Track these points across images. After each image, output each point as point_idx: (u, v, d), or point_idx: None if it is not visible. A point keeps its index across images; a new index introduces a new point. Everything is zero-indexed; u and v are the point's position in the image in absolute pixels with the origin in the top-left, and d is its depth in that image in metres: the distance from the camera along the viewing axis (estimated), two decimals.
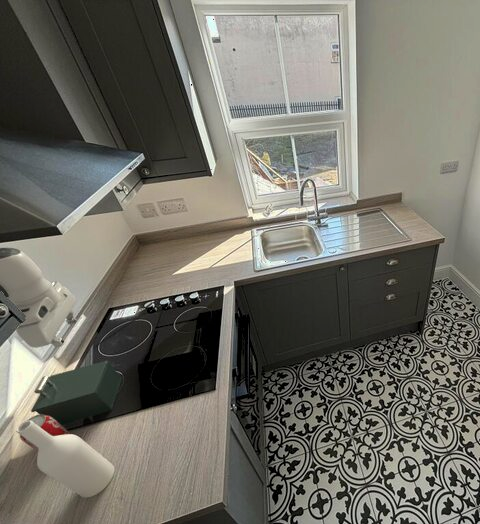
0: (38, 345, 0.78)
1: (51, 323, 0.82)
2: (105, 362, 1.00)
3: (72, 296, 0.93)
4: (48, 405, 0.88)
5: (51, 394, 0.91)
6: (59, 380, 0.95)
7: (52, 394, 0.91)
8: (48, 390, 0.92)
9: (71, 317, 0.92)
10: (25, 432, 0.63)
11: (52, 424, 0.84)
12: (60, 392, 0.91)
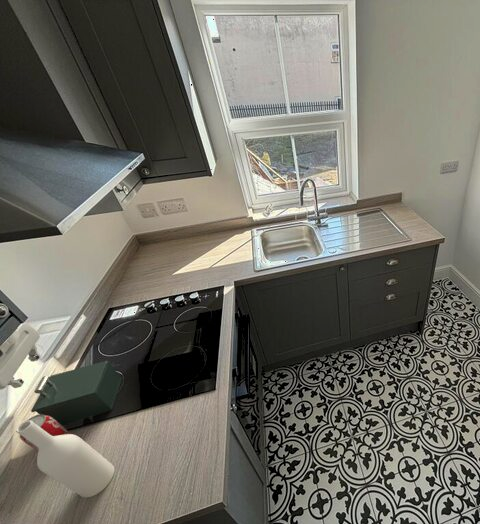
0: None
1: (8, 364, 0.79)
2: (105, 362, 1.00)
3: (35, 332, 0.90)
4: (48, 405, 0.88)
5: (51, 394, 0.91)
6: (59, 380, 0.95)
7: (52, 394, 0.91)
8: (48, 390, 0.92)
9: (34, 354, 0.89)
10: (25, 432, 0.63)
11: (52, 424, 0.84)
12: (60, 392, 0.91)
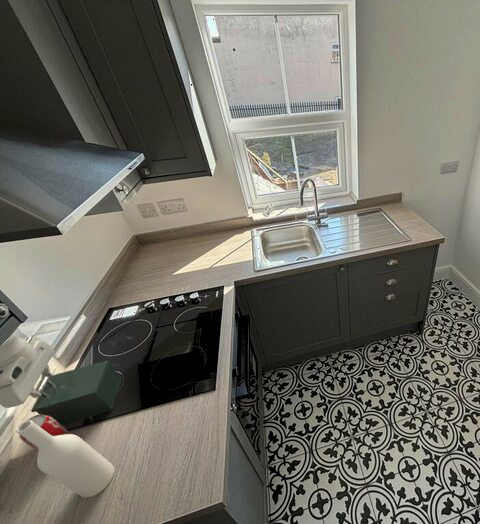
0: (12, 405, 0.80)
1: (26, 381, 0.83)
2: (105, 362, 1.00)
3: (49, 348, 0.94)
4: (48, 405, 0.88)
5: (51, 394, 0.91)
6: (59, 380, 0.95)
7: (52, 394, 0.91)
8: (48, 390, 0.92)
9: (46, 372, 0.92)
10: (25, 432, 0.63)
11: (52, 424, 0.84)
12: (60, 392, 0.91)
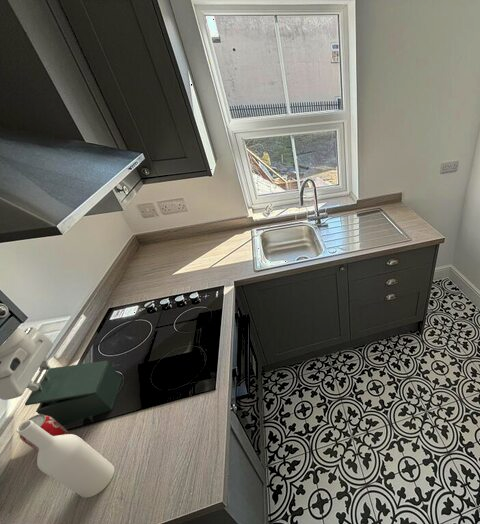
0: (9, 397, 0.78)
1: (24, 373, 0.82)
2: (105, 362, 1.00)
3: (48, 341, 0.93)
4: (44, 400, 0.86)
5: (47, 389, 0.89)
6: (55, 375, 0.93)
7: (48, 388, 0.89)
8: (43, 384, 0.90)
9: (44, 365, 0.91)
10: (25, 432, 0.63)
11: (52, 424, 0.84)
12: (57, 388, 0.90)
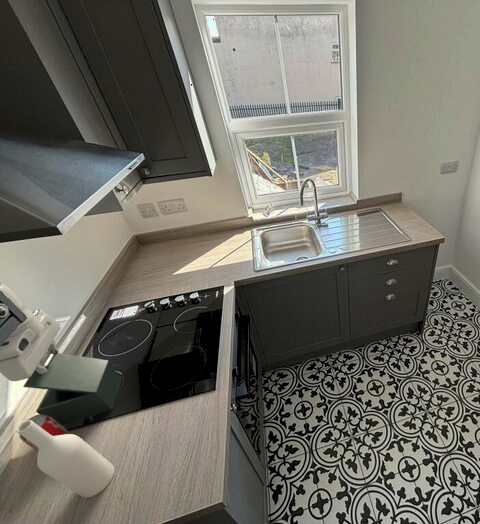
0: (18, 379, 0.76)
1: (33, 354, 0.80)
2: (106, 361, 1.00)
3: (56, 324, 0.91)
4: (44, 386, 0.84)
5: (47, 374, 0.87)
6: (56, 361, 0.91)
7: (48, 374, 0.87)
8: None
9: (52, 349, 0.89)
10: (25, 432, 0.63)
11: (52, 425, 0.84)
12: (58, 377, 0.88)
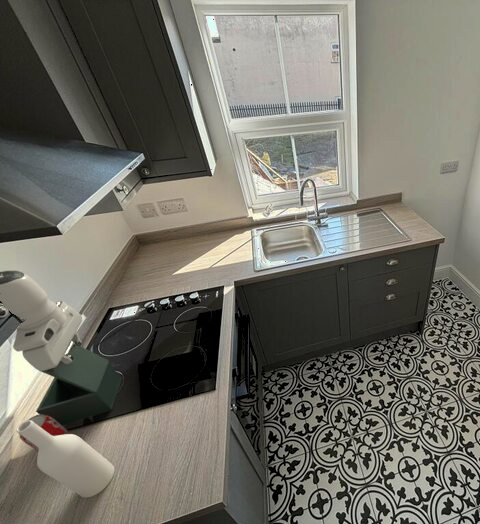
0: (45, 368, 0.77)
1: (58, 344, 0.81)
2: (107, 361, 1.00)
3: (78, 315, 0.91)
4: (56, 375, 0.84)
5: (60, 363, 0.86)
6: None
7: (61, 363, 0.86)
8: None
9: (76, 339, 0.90)
10: (25, 432, 0.63)
11: (52, 425, 0.84)
12: (68, 367, 0.87)
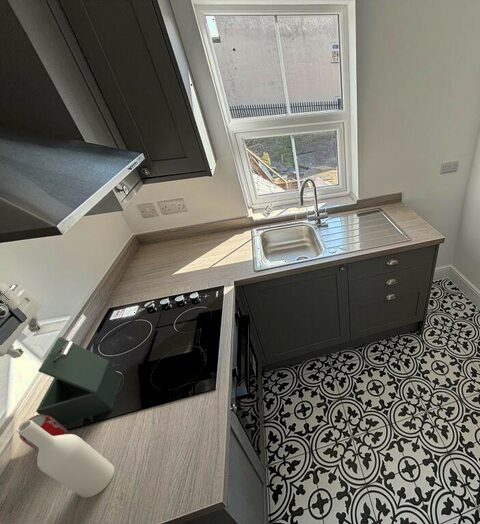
0: None
1: None
2: (107, 361, 1.00)
3: (36, 301, 0.84)
4: (56, 375, 0.84)
5: (60, 363, 0.86)
6: None
7: (60, 363, 0.86)
8: (57, 355, 0.87)
9: (34, 324, 0.83)
10: (25, 432, 0.63)
11: (52, 425, 0.84)
12: (68, 368, 0.87)
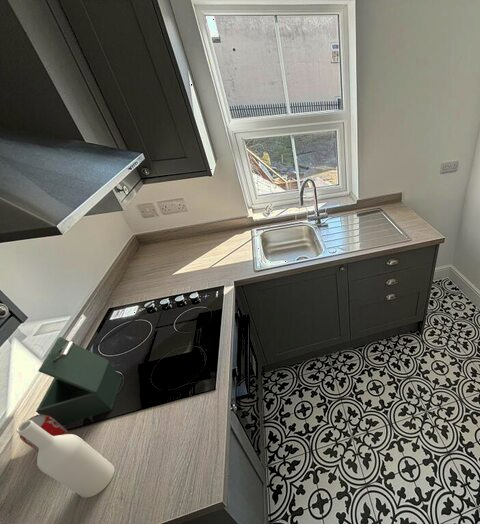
0: None
1: None
2: (107, 361, 1.00)
3: None
4: (56, 375, 0.84)
5: (60, 363, 0.86)
6: None
7: (60, 363, 0.86)
8: (57, 355, 0.87)
9: None
10: (25, 432, 0.63)
11: (52, 424, 0.84)
12: (68, 368, 0.87)
